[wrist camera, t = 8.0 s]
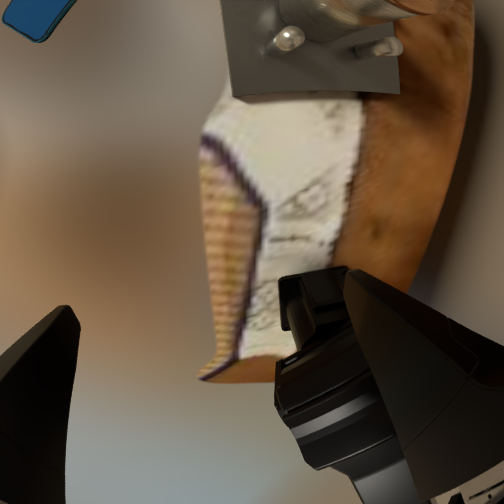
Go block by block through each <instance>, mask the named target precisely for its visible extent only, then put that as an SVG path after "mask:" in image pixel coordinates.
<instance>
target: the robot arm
mask: <svg viewBox="0 0 504 504" xmlns="http://www.w3.org/2000/svg"><path fill="white" fill-rule="evenodd" d="M343 271H344V272H343ZM342 272H343V273H342ZM283 282H286V283H284V284H282V283H283ZM278 292H279V305H280V320H281V328H282V330H283V331H290V330H291V331H292V335H293V338H294V341H295V344H296V348H297V352H296V353H294V354H292V355H290V356H288V357H287V358H285V359H281V360H279V361H277V362H276V370H275V391H274V400H275V401H274V405H275V407H276V409H277V411H278V413H279V415H280V417H281V419H282V420H283V422H284V423H285V424H286V425H287V427H289V429H290V430H291V432H292V434H293V435H294V437H295V439H296V441H297V443H298V445H299V448H300V450H301V453H302V455H303V458H304V460H305V462H306V463H307V464H309V465H310V466H311V467H312V468H314V469H315V470H321V469H324V468H327V467H331V468H333V469H335V470H337V471H339V472H341V473H343V474H345V475H347V476H348V477H349V479H350V480H351V482H352V484H353V486H354V488H355V490H356V492H357V494H358V495H359V497H360V499H361V501H362V503H363V504H437V502H436V500H435V497H436V496H439V495H441V494H443V493H445V492H448V491H450V490H452V489H454V488H456V487H458V486H459V489H460V491H459V492H458V493H456V494H455V495H453V496H452V497H451V498H450V501H449V503H448V504H504V346H502V345H500V344H498V343H496V342H494V341H492V340H490V339H488V338H486V337H484V336H482V335H480V334H478V333H476V332H474V331H472V330H470V329H468V328H466V327H464V326H463V325H461V324H459V323H457V322H455V321H454V320H452V319H450V318H447V317H446V316H445V315H443V314H441V313H440V312H438V311H436V310H434V309H432V308H431V307H429V306H427V305H425V304H423V303H422V302H420V301H418V300H416V299H414V298H413V297H411V296H409V295H407V294H405V293H403V292H402V291H400V290H398V289H396V288H394V287H392V286H391V285H389V284H387V283H385V282H383V281H381V280H379V279H377V278H376V277H374V276H372V275H370V274H368V273H366V272H364V271H362V270H360V269H356V270H350V271H349V269H348V268H347V266H339V267H334V268H329V269H323V270H318V271H312V272H307V273H302V274H296V275H290V276H285V277H281V278H280V279H279V280H278ZM285 326H287V327H285ZM80 331H81V326H80V322H79V321H78V319H77V317H76V315H75V313H74V312H73V310H72V308H71V307H70V306H69V305H60V306H58V307H56V308H55V309H54V310H53V311H52V312H50V313H49V314H48V315H47V316H45V317H44V318H43V319H42V320H41V321H40V322H38V323H37V324H36V325H35V326H34V327H32V328H31V329H30V330H29V331H28V332H26V334H24V335H23V336H22V337H21V338H20V339H18V340H17V341H16V342H15V343H14V344H13V345H12V346H11V347H10V348H8V349H7V350H6V351H5V352H4V353H3V354H2V355H1V356H0V504H66V500H65V458H66V440H67V429H68V419H69V411H70V402H71V396H72V390H73V384H74V378H75V372H76V364H77V356H78V347H79V339H80Z"/></svg>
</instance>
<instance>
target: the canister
mask: <svg viewBox="0 0 504 504" xmlns="http://www.w3.org/2000/svg"><path fill="white" fill-rule="evenodd" d="M454 2H455V0H279V9H280V13H281V16H282V18H283V19H284V21H285V22H286V24H287V25H288V26H296V27H298V28H300V29H301V30H302V31H303V33H304V35H305V38H307V39H310V40H313V41H319V42H328V41H333V40H337V39H339V38H342V37H345V36H347V35H350V34H353V33H356V32H359V31H362V30H365V29H368V28H371V27H374V26H378V25H381V24H385V23H388V22H392V21H395V20H399V19H403V18H407V17H412V16H416V15H433V14H439V13H444V12H446V11H448V10H449V9H450V8H451V7H452V6H453V4H454Z"/></svg>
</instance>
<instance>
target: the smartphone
mask: <svg viewBox="0 0 504 504" xmlns="http://www.w3.org/2000/svg"><path fill="white" fill-rule="evenodd" d="M76 1H77V0H12V1H11V2H10V4H9V5H8V7H7V8H6V10H5V11H4V13H3V16H2V23H3V24H5V25H6V26H8V27H10V28H11V29H13V30H14V31H16V32H18V33H19V34H21V35H23V36H24V37H26V38H27V39H29V40H30V41H32V42H34V43H42V42H44V41H46V40H47V39H48V38H49V37H50V36H51V34H52V33H53V32H54V30H55V29H56V27H57V26H58V24H59V23H60V22H61V21H62V19H63V18H64V17H65V15H66V14H67V13H68V11H69V10H70V9H71V7H72V6H73V5H74V4H75V3H76Z"/></svg>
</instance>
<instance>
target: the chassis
mask: <svg viewBox="0 0 504 504" xmlns="http://www.w3.org/2000/svg"><path fill="white" fill-rule="evenodd" d="M220 7H221V15H222V22H223V29H224V37H225V44H226V52H227V59H228V67H229V74H230V82H231V89H232V97H234V96H242V95H251V94H261V93H273V92H289V91H320V90H333V91H364V92H379V93H391V94H400V82H399V68H398V58H397V55H400V54H402V52H403V45H402V43H401V41H400V40H399V39H398V38H396V37H395V33H394V26H393V21H392V22H388V23H385V24H381V25H378V26H374V27H371V28H368V29H365V30H362V31H359V32H356V33H353V34H350V35H347V36H345V37H342V38H339V39H337V40H333V41H328V42H319V41H313V40H310V39H307V38H305V35H304V33H303V31H302V30H301V29H300V28H298V27H296V26H288V25H287V24H286V22H285V21H284V19H283V18H282V16H281V13H280V9H279V0H220Z"/></svg>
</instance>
